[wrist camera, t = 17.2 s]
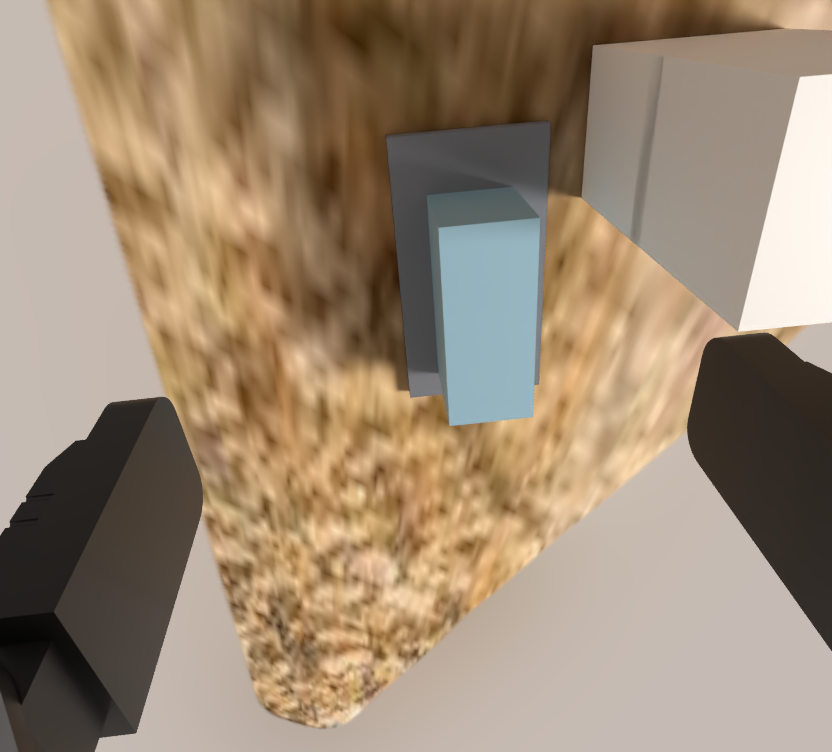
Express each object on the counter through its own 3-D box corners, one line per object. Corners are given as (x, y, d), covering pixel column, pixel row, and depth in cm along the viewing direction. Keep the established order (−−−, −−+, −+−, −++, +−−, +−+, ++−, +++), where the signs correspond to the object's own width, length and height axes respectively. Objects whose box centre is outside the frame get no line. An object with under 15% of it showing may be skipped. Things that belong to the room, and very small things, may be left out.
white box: (592, 45, 31) (799, 77, 17) (785, 28, 32) (1158, 44, 17) (581, 197, 36) (738, 331, 21) (751, 181, 36) (1025, 302, 21)
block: (426, 195, 34) (438, 227, 29) (513, 186, 34) (540, 217, 29) (438, 373, 40) (449, 425, 35) (511, 365, 40) (533, 416, 35)
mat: (385, 135, 33) (386, 137, 32) (546, 120, 33) (550, 122, 32) (409, 391, 42) (410, 397, 41) (536, 378, 42) (538, 384, 41)
